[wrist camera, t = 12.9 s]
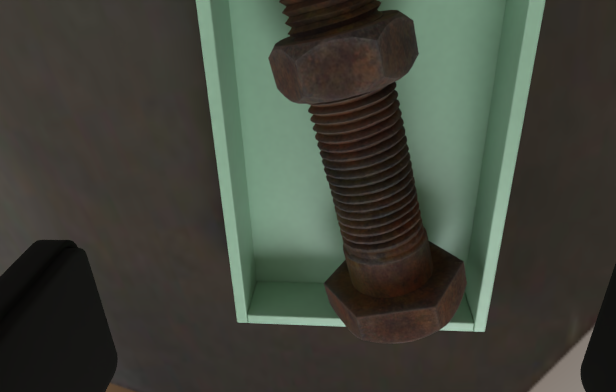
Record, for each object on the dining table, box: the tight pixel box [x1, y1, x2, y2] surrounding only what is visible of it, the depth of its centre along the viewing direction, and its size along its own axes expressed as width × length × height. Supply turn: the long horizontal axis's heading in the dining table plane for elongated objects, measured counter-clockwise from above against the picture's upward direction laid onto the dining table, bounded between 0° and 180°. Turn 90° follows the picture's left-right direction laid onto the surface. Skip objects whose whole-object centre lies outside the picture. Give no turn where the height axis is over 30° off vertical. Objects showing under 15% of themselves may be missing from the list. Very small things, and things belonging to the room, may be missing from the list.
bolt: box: [268, 0, 467, 344], centre depth 18 cm, size 6×5×15 cm
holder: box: [196, 0, 545, 332], centre depth 19 cm, size 11×18×3 cm, turn 1°
